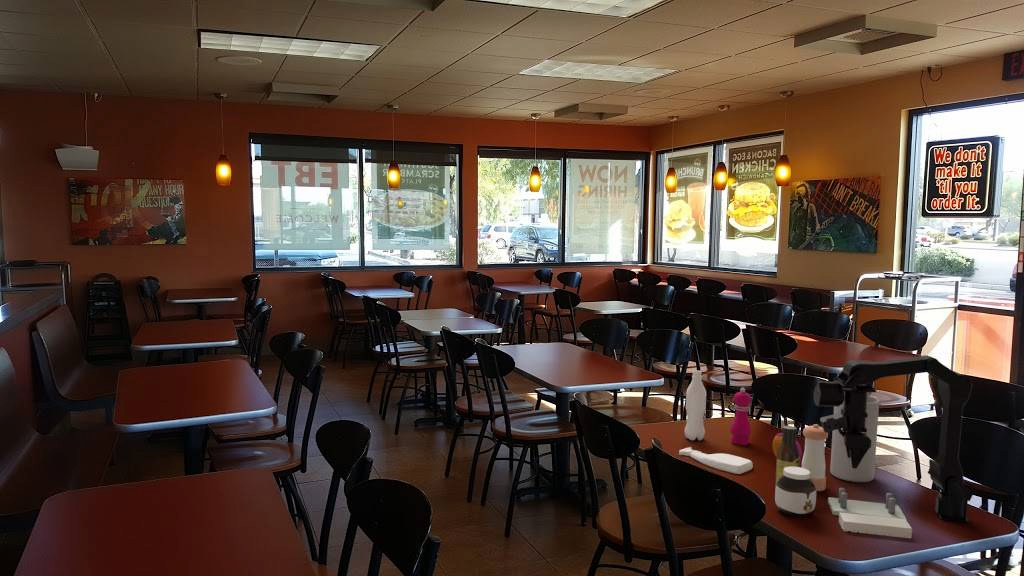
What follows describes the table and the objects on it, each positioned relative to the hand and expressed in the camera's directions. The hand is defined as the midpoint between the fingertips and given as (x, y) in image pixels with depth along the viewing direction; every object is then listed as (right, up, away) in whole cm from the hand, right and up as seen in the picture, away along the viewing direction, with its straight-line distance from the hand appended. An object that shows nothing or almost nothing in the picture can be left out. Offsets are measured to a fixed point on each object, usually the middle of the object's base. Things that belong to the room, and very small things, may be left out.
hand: (851, 462), depth 200 cm
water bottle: (-27, -7, +66) cm, 71 cm away
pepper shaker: (-3, -12, +19) cm, 23 cm away
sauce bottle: (-13, -12, +13) cm, 22 cm away
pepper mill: (-11, -8, +62) cm, 64 cm away
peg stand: (+4, -14, +1) cm, 14 cm away
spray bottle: (-27, -10, +41) cm, 50 cm away
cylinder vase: (+14, -11, +29) cm, 34 cm away
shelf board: (+1, -15, -11) cm, 19 cm away
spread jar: (-15, -14, +2) cm, 20 cm away
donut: (-3, -10, +40) cm, 42 cm away
